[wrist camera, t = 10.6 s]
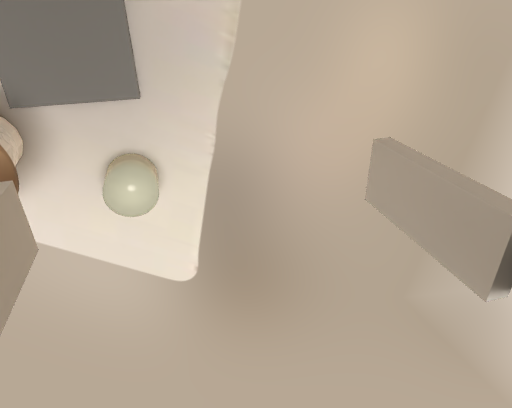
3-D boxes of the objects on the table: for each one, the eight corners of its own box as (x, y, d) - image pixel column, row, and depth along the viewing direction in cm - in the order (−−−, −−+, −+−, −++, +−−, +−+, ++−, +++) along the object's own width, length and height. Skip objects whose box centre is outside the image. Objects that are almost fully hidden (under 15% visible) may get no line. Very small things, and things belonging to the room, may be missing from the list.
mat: (-38, -42, 32) (-42, -43, 31) (116, -41, 35) (116, -42, 34) (12, 106, 38) (10, 108, 38) (140, 97, 41) (140, 98, 40)
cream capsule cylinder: (101, 156, 43) (96, 172, 39) (153, 150, 44) (154, 165, 40) (112, 201, 46) (108, 220, 42) (160, 194, 47) (162, 212, 43)
